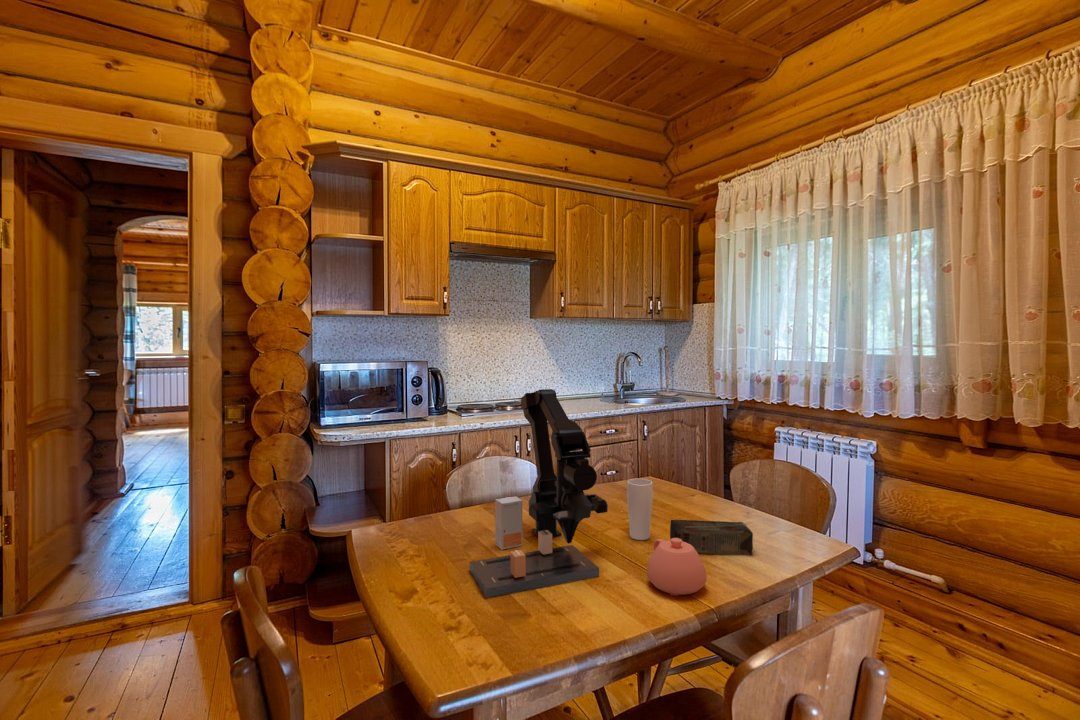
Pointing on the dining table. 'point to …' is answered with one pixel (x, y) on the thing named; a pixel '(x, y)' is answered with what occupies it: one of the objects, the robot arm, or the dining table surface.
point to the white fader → (545, 542)
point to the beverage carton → (714, 536)
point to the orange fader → (518, 563)
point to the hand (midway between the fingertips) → (568, 542)
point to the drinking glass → (639, 507)
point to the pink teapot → (676, 567)
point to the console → (532, 571)
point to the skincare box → (508, 522)
